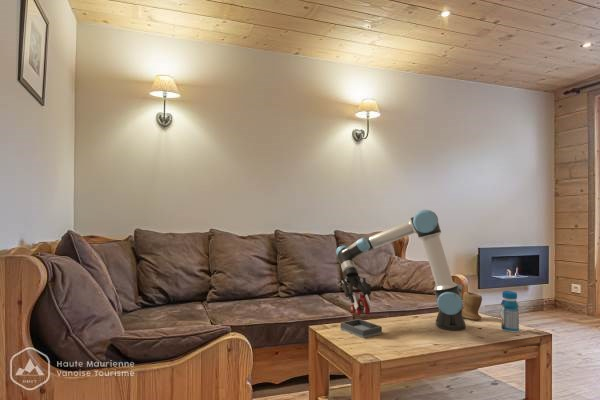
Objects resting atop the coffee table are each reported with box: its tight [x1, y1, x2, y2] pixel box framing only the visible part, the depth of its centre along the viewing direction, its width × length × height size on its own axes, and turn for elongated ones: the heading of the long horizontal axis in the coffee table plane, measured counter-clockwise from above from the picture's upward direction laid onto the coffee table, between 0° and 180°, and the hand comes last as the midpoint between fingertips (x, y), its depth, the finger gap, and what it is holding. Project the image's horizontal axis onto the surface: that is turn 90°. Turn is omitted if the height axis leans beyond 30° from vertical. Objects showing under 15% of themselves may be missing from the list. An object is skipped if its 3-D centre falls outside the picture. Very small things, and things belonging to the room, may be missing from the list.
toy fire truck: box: [349, 291, 371, 316], centre depth 195 cm, size 7×12×10 cm, turn 22°
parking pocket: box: [340, 318, 383, 339], centre depth 195 cm, size 17×13×4 cm
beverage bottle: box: [500, 290, 520, 333], centre depth 198 cm, size 8×8×20 cm
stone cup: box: [462, 291, 483, 321], centre depth 222 cm, size 15×12×15 cm
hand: (363, 307), depth 192 cm, fingers closed on toy fire truck, 7 cm apart
